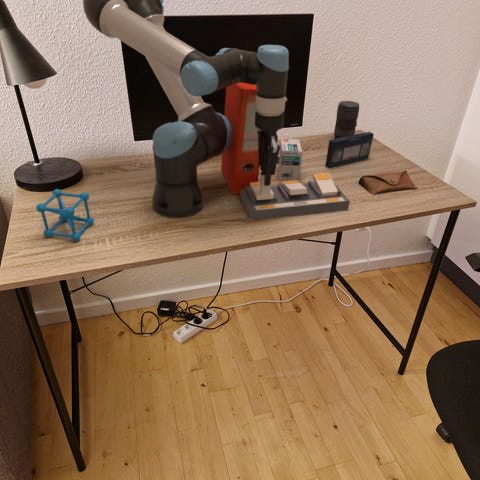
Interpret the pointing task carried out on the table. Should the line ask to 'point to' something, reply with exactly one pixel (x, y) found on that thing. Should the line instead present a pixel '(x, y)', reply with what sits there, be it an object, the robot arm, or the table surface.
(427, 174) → the table surface
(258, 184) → the switch left
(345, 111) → the camera lens
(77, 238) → the molecular structure
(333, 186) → the switch right
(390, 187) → the sunglasses case
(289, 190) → the switch middle
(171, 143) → the robot arm
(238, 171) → the file binder
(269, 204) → the switch unit
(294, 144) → the light bulb box
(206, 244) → the table surface
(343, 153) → the vhs cassette tape
